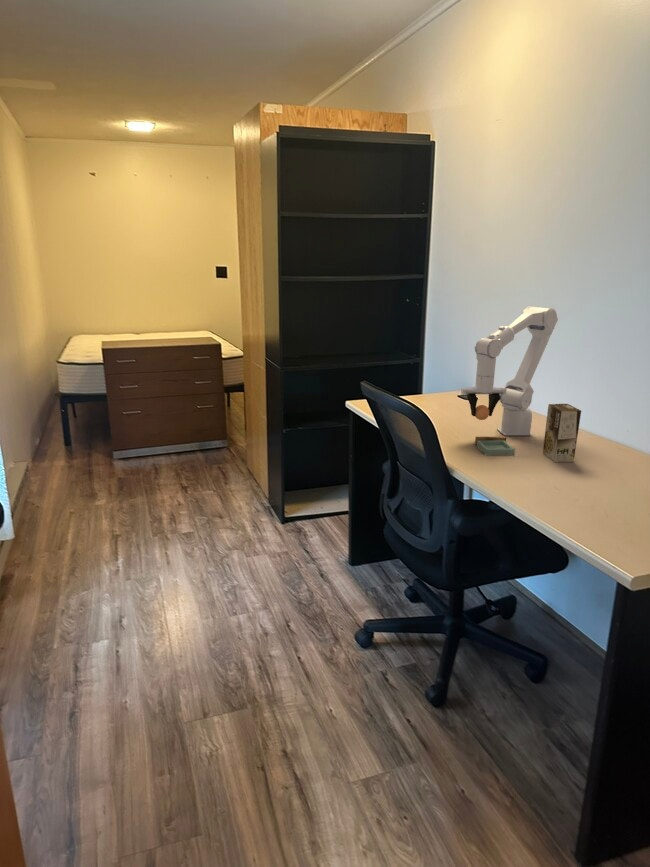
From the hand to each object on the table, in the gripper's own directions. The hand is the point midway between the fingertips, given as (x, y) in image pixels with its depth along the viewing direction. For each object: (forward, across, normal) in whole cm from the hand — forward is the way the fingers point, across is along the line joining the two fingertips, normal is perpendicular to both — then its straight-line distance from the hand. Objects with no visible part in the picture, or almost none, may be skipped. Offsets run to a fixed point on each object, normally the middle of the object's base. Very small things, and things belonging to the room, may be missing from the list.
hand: (481, 415), depth 197 cm
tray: (+8, -2, +12) cm, 14 cm away
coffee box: (+9, -19, +18) cm, 28 cm away
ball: (+2, 0, 0) cm, 2 cm away
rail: (+8, -2, +6) cm, 10 cm away
